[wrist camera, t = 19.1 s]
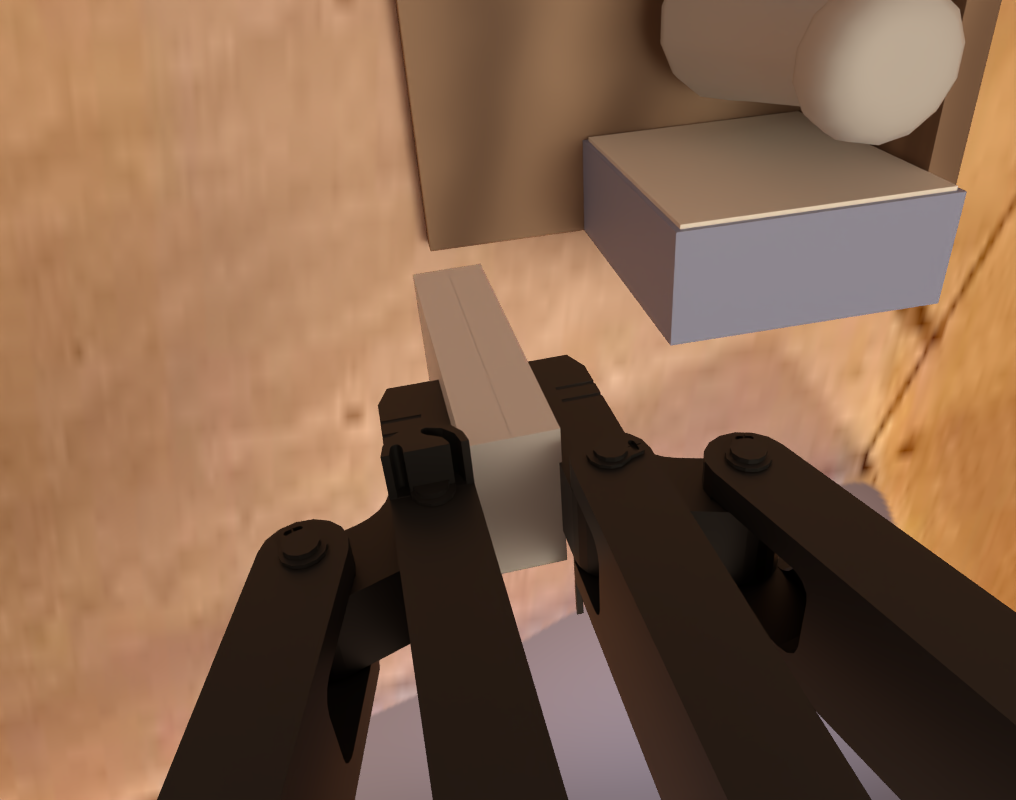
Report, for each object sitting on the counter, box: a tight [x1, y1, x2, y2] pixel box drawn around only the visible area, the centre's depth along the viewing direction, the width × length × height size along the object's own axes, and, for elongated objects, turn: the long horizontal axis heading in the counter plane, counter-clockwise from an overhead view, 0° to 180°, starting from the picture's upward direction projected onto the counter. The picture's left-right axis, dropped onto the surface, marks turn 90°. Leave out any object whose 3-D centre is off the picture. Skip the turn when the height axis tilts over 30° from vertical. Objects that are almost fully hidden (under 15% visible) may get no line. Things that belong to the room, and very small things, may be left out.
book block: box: [583, 111, 967, 345], centre depth 30 cm, size 10×4×11 cm, turn 94°
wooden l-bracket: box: [396, 0, 1002, 251], centre depth 28 cm, size 18×16×10 cm
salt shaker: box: [660, 0, 965, 145], centre depth 26 cm, size 6×6×13 cm
